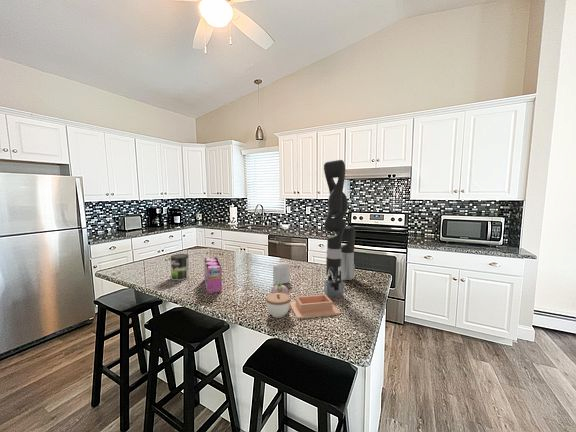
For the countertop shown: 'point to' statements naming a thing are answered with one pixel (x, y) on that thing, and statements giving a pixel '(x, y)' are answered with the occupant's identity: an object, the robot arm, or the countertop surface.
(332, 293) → the grey rectangular block
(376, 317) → the countertop surface
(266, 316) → the countertop surface
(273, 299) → the lidded jar
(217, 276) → the gum box
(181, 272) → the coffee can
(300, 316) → the caddy
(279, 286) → the decorative fruit
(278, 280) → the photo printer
